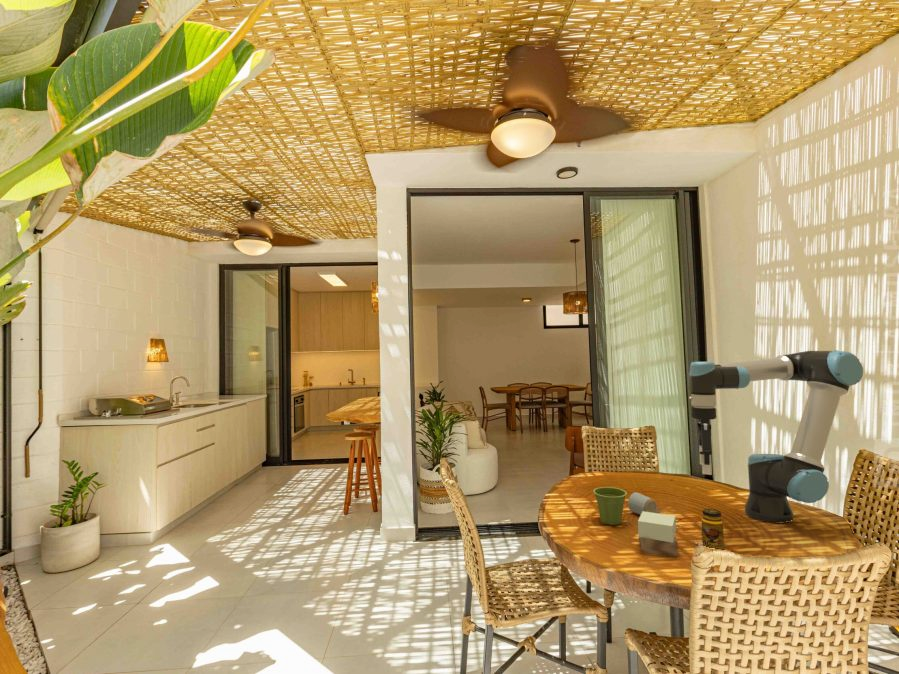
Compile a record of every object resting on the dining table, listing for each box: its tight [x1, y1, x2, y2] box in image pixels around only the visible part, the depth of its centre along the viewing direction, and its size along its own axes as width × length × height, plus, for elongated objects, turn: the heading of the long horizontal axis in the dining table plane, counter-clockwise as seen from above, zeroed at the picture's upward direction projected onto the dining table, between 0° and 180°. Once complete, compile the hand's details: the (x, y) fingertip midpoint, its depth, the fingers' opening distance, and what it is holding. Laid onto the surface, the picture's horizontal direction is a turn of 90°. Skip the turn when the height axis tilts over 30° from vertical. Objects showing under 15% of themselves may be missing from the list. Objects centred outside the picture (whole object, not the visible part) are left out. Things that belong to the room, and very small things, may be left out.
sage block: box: [637, 511, 677, 543], centre depth 151 cm, size 10×10×5 cm
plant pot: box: [592, 486, 628, 526], centre depth 175 cm, size 12×12×11 cm
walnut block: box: [638, 536, 679, 558], centre depth 151 cm, size 10×10×5 cm
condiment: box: [694, 508, 728, 550], centre depth 151 cm, size 7×8×12 cm
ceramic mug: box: [627, 492, 659, 516], centre depth 183 cm, size 11×8×8 cm
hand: (705, 469), depth 161 cm, fingers open, 13 cm apart
